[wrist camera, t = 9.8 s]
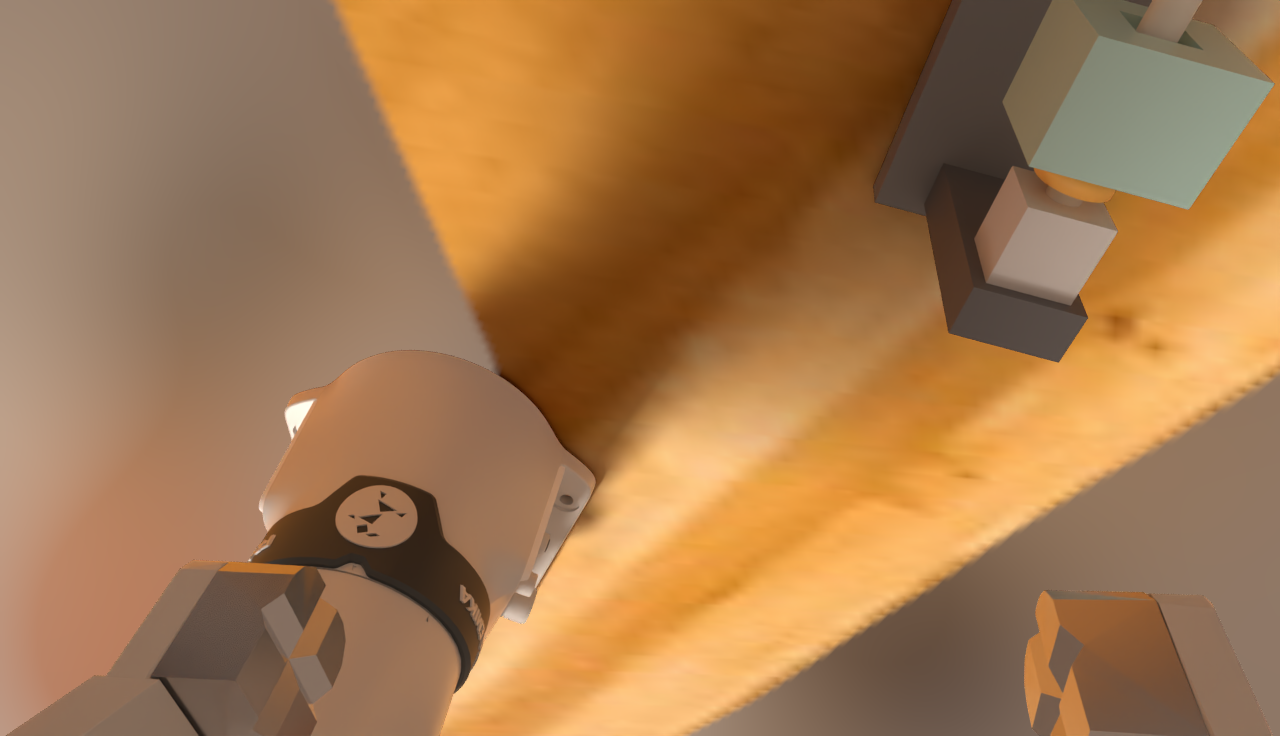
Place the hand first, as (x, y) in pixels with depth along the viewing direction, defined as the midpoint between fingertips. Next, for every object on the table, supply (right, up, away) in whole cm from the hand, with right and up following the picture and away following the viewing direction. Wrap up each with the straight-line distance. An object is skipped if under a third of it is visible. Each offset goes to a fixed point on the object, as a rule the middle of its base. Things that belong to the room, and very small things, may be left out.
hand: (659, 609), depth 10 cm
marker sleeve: (+15, +13, +20) cm, 28 cm away
